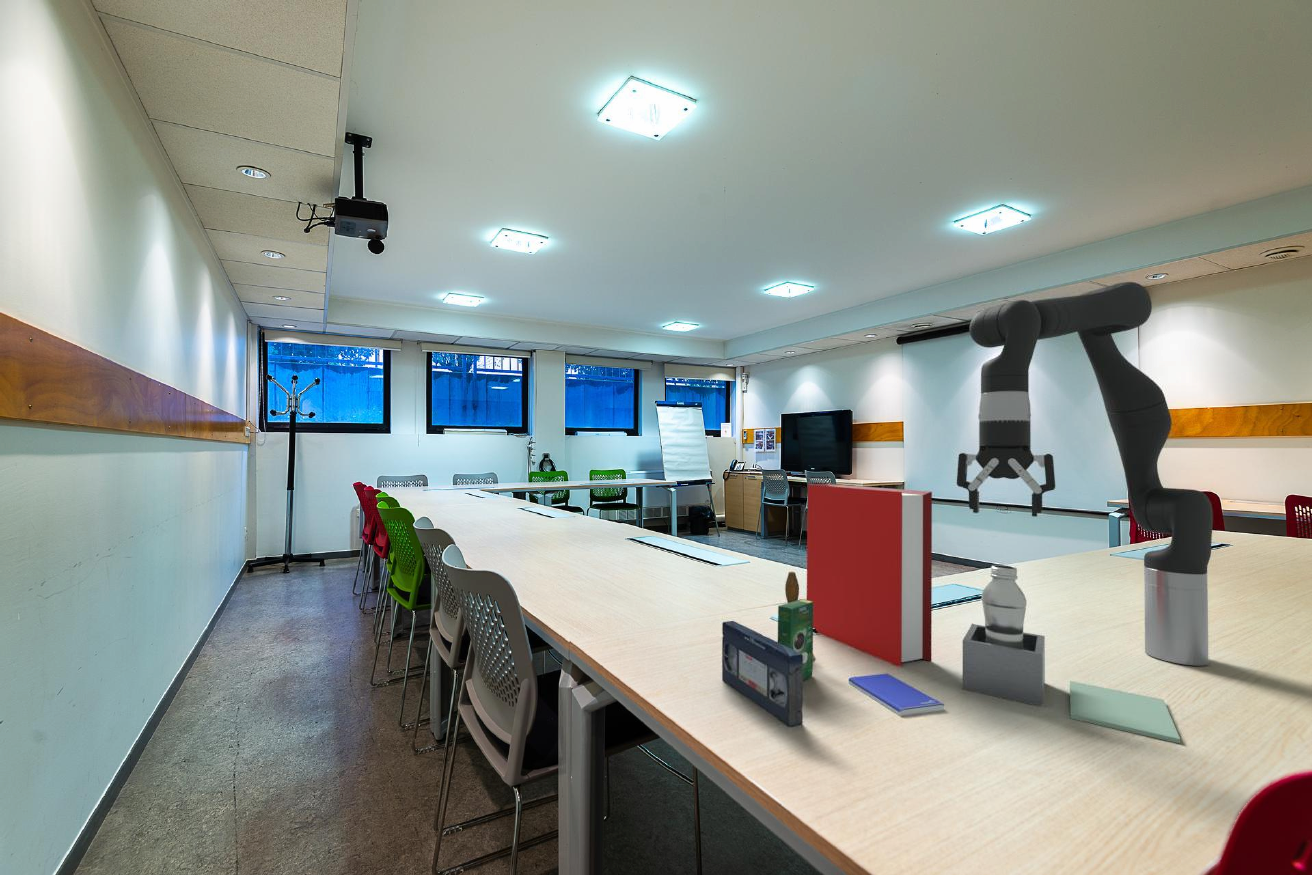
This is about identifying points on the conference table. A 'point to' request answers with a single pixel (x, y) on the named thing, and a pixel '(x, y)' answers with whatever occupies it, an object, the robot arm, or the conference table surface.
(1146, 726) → the mat
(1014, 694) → the sleeve
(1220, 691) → the conference table surface
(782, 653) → the vhs cassette tape
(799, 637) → the coffee box
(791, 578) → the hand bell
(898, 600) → the book
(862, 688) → the hard drive
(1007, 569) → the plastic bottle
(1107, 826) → the conference table surface
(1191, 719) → the conference table surface
